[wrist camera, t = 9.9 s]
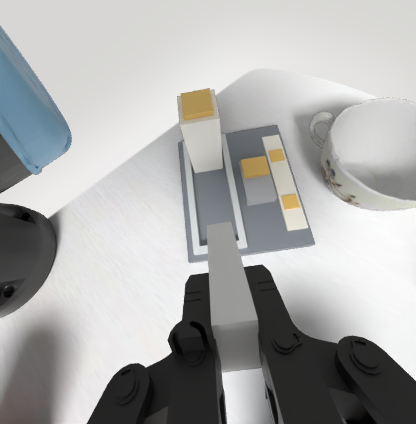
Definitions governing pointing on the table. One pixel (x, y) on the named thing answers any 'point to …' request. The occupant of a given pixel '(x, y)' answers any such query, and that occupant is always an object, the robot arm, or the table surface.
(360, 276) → the table surface
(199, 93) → the slide switch
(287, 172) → the console
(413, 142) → the teacup
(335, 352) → the robot arm
